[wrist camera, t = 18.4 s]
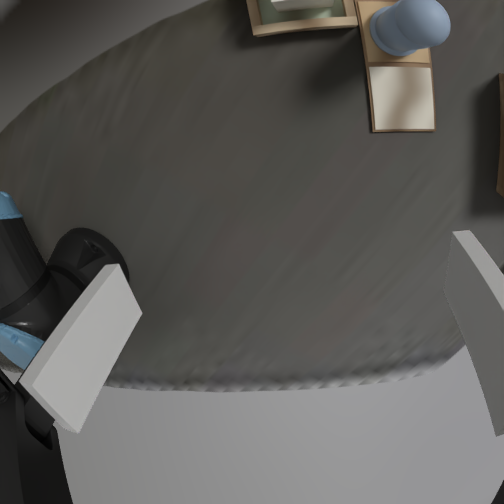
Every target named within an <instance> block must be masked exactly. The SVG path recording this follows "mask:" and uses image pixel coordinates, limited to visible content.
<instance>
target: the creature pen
mask: <svg viewBox="0 0 504 504" xmlns="http://www.w3.org/2000/svg"><path fill="white" fill-rule="evenodd" d="M499 85H500V151H499V166H498V178H497V187H496V192H498V193H499V194H500V195H501V196H502V197H503V198H504V74H501V73H499Z"/></svg>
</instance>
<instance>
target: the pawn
mask: <svg viewBox="0 0 504 504" xmlns="http://www.w3.org/2000/svg"><path fill="white" fill-rule="evenodd" d="M369 31H370V35H371V37H372V39H373V41H374V43H375V44H376V45H377V46H378V47H379V48H380V49H381V50H383V51H384V52H386V53H388V54H390V55H394V56H406V55H410V54H412V53H414V52H416V51H417V50H418V49H425V48H429V47H432V46H436V45H439V44H441V43H442V42H444V41H445V40H446V38H447V37H448V35H449V32H450V19H449V16H448V14H447V12H446V11H445V9H444V8H443V7H442V6H441V5H440V4H439V3H438V2H437V1H435V0H399V1H398V2H396V3H395V4H394V5H392V6H386V7H383V8H381V9H379V10H378V11H377V12H376V13H375V14H374V15H373V16H372V18H371V20H370V24H369Z"/></svg>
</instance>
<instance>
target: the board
mask: <svg viewBox="0 0 504 504" xmlns="http://www.w3.org/2000/svg"><path fill="white" fill-rule="evenodd" d="M398 1H399V0H354V2H355V7H356V12H357V17H358V23H359V28H360V34H361V40H362V46H363V52H364V59H365V66H366V73H367V81H368V90H369V99H370V109H371V120H372V131H373V132H389V131H436V115H435V97H434V84H433V73H432V63H431V55H430V47H429V48H425V49H418V50H417V51H416V52H414V53H412V54H410V55H406V56H394V55H390V54H388V53H386V52H384V51H383V50H381V49H380V48H379V47H378V46H377V45H376V44H375V43H374V41H373V39H372V37H371V35H370V31H369V24H370V20H371V18H372V16H373V15H374V14H375V13H376V12H377V11H378V10H379V9H381V8H383V7H386V6H392V5H394V4H395V3H396V2H398Z"/></svg>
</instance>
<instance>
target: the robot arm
mask: <svg viewBox="0 0 504 504" xmlns="http://www.w3.org/2000/svg"><path fill="white" fill-rule="evenodd" d="M443 293H444V295H445V297H446V299H447V301H448V304H449V306H450V308H451V310H452V312H453V315H454V317H455V319H456V322H457V324H458V326H459V329H460V331H461V334H462V336H463V338H464V341H465V343H466V346H467V349H468V351H469V354H470V356H471V359H472V362H473V364H474V367H475V370H476V372H477V376H478V378H479V381H480V384H481V387H482V390H483V393H484V397H485V399H486V403H487V406H488V409H489V413H490V416H491V420H492V423H493V427H494V431H495V435H496V436H499V435H502V434H504V275H503V274H502V272H501V271H500V270H499V268H498V267H497V265H496V264H495V263H494V261H493V260H492V259H491V257H490V256H489V255H488V253H487V252H486V251H485V249H484V248H483V247H482V245H481V244H480V243H479V242H478V240H477V239H476V238H475V236H474V235H473V234H472V233H471V231H470V230H466V231H456V232H452V238H451V246H450V254H449V261H448V267H447V274H446V280H445V285H444V291H443ZM141 315H142V312H141V310H140V308H139V306H138V304H137V302H136V299H135V297H134V295H133V293H132V291H131V289H130V287H129V272H128V268H127V265H126V263H125V261H124V259H123V257H122V255H121V254H120V252H119V251H118V250H117V248H116V247H115V246H114V245H113V244H112V243H111V242H110V241H109V240H108V239H106V238H105V237H104V236H102V235H101V234H99V233H97V232H95V231H93V230H90V229H87V228H75V229H72V230H70V231H68V232H67V233H66V234H65V235H64V236H63V237H62V238H61V239H60V240H59V241H58V243H57V244H56V247H55V249H54V251H53V253H52V255H51V257H50V259H49V261H48V263H47V265H46V264H45V262H44V261H43V259H42V257H41V255H40V253H39V251H38V249H37V247H36V245H35V243H34V241H33V239H32V237H31V235H30V233H29V231H28V229H27V227H26V225H25V222H24V220H23V216H22V214H20V212H19V211H18V209H17V207H16V205H15V203H14V201H13V199H12V197H11V196H10V195H9V194H8V193H6V192H3V191H1V192H0V351H1V352H2V353H3V354H4V355H5V356H6V357H7V358H8V359H10V360H11V361H12V362H13V363H15V364H16V365H18V366H19V367H21V368H22V369H24V372H23V373H22V375H21V376H20V378H19V379H18V381H17V382H16V384H15V385H14V384H13V383H12V382H11V381H10V380H9V379H8V377H7V376H6V375H5V374H4V373H3V372H2V370H1V369H0V504H73V502H72V498H71V495H70V491H69V487H68V483H67V479H66V474H65V470H64V465H63V461H62V456H61V451H60V445H59V439H58V433H57V430H56V428H55V427H54V426H53V423H54V421H55V420H56V421H57V422H58V423H59V424H60V425H61V426H62V427H63V428H64V429H66V430H69V431H72V432H75V433H79V432H80V430H81V428H82V426H83V424H84V422H85V420H86V418H87V416H88V414H89V412H90V410H91V408H92V406H93V404H94V402H95V400H96V398H97V396H98V394H99V392H100V390H101V388H102V386H103V384H104V382H105V380H106V379H107V377H108V375H109V373H110V371H111V369H112V367H113V365H114V364H115V362H116V360H117V358H118V356H119V354H120V352H121V351H122V349H123V347H124V345H125V343H126V341H127V340H128V338H129V336H130V334H131V332H132V331H133V329H134V327H135V325H136V324H137V322H138V320H139V318H140V317H141ZM491 504H504V480H503V482H502V485H501V486H500V488H499V491H498V492H497V494H496V496H495V498H494V500H493V502H492V503H491Z"/></svg>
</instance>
